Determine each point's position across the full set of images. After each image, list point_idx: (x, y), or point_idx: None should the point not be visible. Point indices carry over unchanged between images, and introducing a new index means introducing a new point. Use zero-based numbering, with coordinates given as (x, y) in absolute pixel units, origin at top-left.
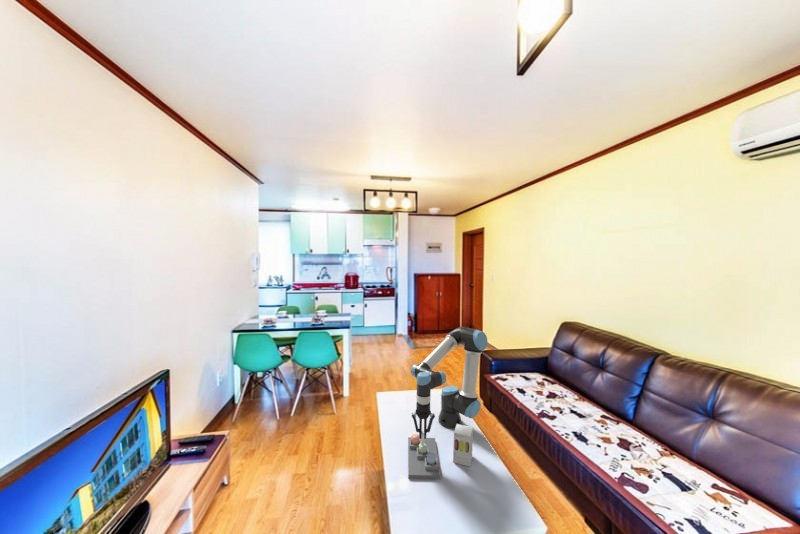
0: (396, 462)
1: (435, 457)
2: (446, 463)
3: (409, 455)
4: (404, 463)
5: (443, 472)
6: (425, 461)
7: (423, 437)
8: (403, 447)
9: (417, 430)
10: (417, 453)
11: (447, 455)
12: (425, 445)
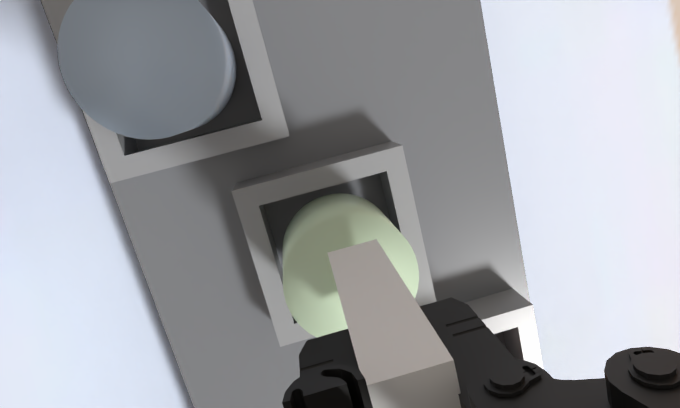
0: (606, 66)
1: (65, 53)
2: (29, 223)
3: (493, 170)
4: (517, 76)
5: (24, 55)
6: (258, 53)
7: (366, 318)
8: (568, 323)
9: (667, 390)
10: (404, 186)
11: (53, 358)
12: (309, 295)
